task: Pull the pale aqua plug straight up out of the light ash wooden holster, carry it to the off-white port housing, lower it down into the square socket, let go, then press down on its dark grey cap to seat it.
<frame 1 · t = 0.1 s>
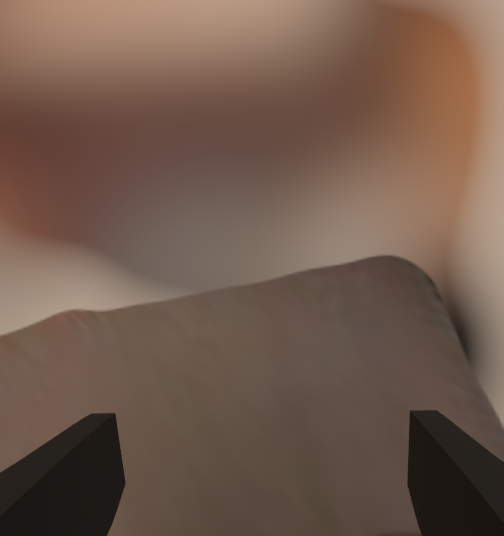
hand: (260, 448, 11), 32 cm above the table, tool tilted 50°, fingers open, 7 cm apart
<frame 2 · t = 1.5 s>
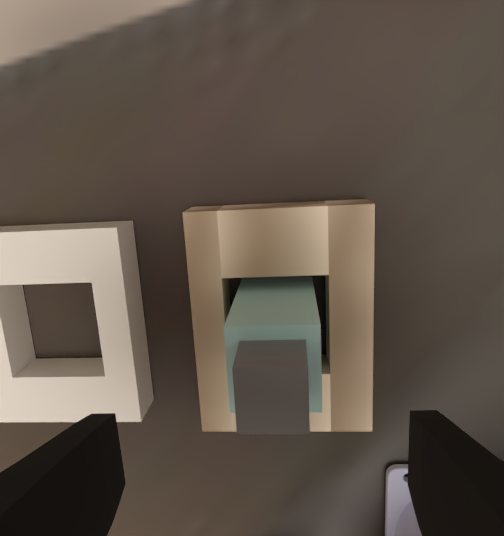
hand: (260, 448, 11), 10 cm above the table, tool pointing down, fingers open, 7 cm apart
holster: (278, 311, 21), on the table
port housing: (71, 316, 22), on the table
plug: (275, 346, 17), in the holster
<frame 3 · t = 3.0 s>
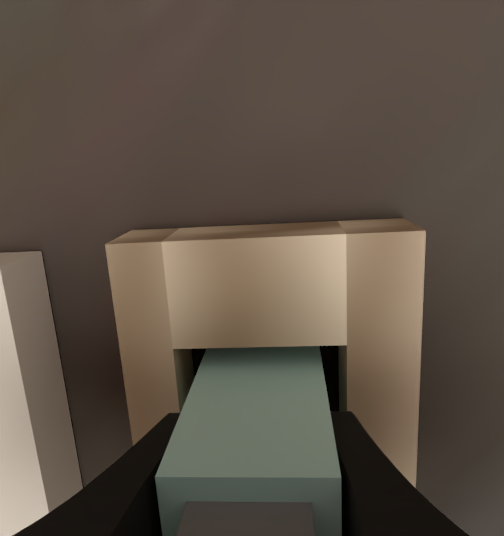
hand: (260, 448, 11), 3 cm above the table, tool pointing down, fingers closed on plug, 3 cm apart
holster: (266, 386, 14), on the table
plug: (258, 475, 10), in the holster, touching gripper
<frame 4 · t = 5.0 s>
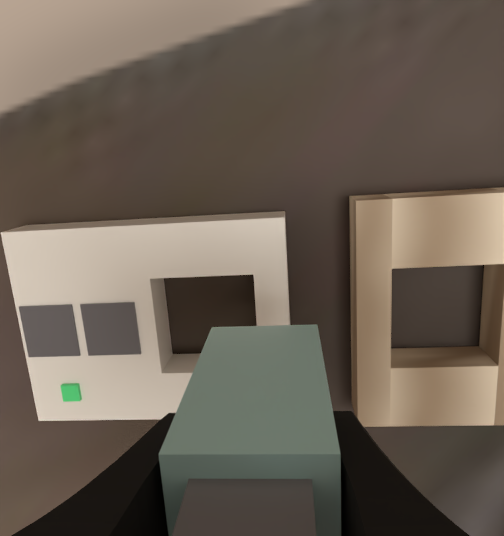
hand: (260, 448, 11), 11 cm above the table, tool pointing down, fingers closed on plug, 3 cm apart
holster: (431, 302, 21), on the table
port housing: (213, 310, 21), on the table
plug: (259, 458, 10), point 11 cm above the table, touching gripper
when the fingers open (3 cm above the table, at t = 7.3 s): plug stays where it is, resting in port housing.
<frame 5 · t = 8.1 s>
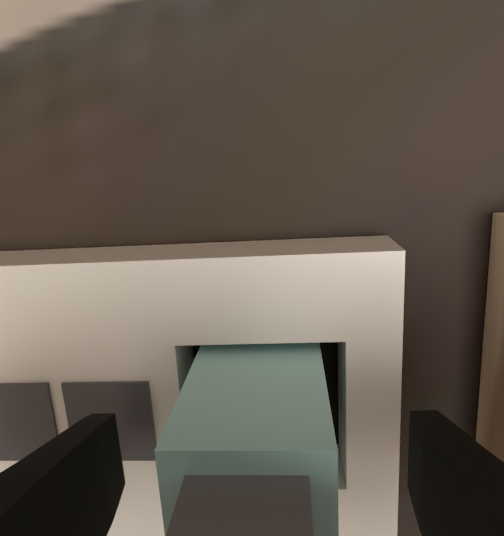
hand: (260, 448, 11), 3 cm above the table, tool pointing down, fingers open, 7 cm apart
port housing: (266, 382, 14), on the table
plug: (256, 455, 10), in the port housing
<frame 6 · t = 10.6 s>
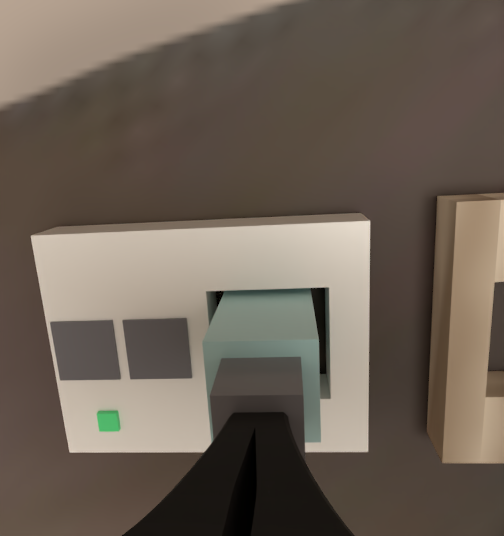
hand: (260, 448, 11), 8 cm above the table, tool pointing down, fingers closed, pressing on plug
port housing: (271, 326, 19), on the table
plug: (266, 361, 15), in the port housing, touching gripper
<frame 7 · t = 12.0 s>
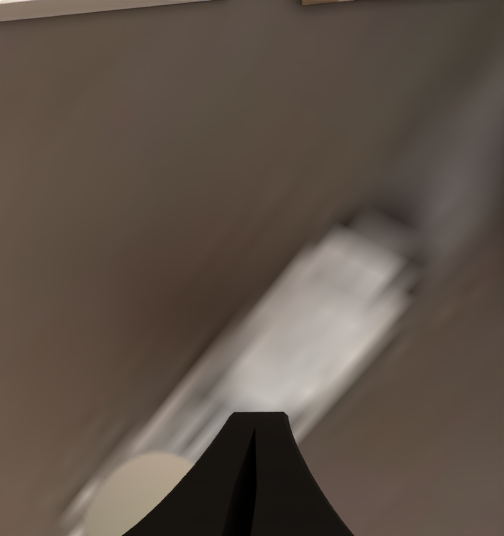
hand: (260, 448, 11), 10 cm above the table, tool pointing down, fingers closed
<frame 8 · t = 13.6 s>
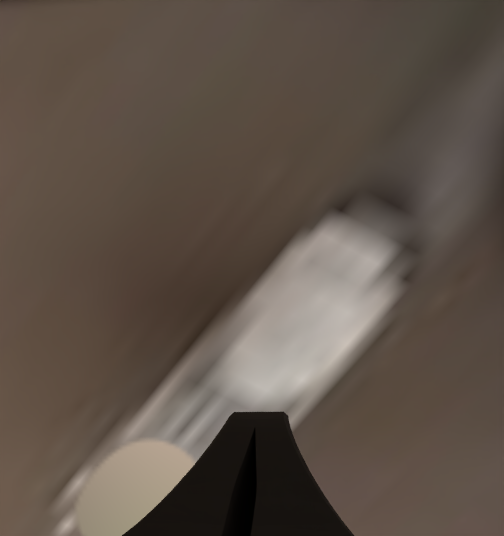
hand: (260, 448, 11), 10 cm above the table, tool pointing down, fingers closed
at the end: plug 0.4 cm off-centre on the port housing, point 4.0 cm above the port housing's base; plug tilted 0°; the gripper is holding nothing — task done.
